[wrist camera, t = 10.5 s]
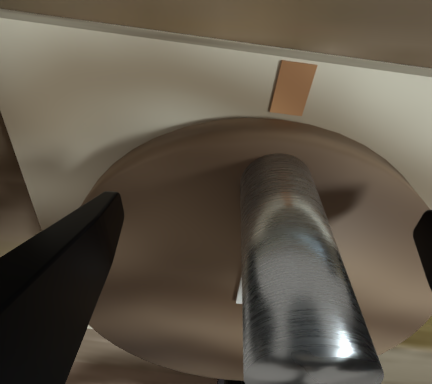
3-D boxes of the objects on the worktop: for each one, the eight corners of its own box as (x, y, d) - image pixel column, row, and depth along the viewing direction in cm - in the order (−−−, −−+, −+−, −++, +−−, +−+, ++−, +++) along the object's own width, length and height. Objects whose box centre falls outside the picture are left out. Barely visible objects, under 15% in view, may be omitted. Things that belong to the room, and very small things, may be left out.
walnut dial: (348, 360, 22) (394, 524, 15) (105, 337, 22) (50, 491, 15) (522, 143, 11) (938, 396, 4) (31, 94, 11) (-274, 280, 4)
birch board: (348, 338, 23) (354, 359, 22) (83, 308, 23) (74, 328, 22) (549, 85, 11) (589, 99, 10) (-4, 8, 11) (-36, 13, 9)
